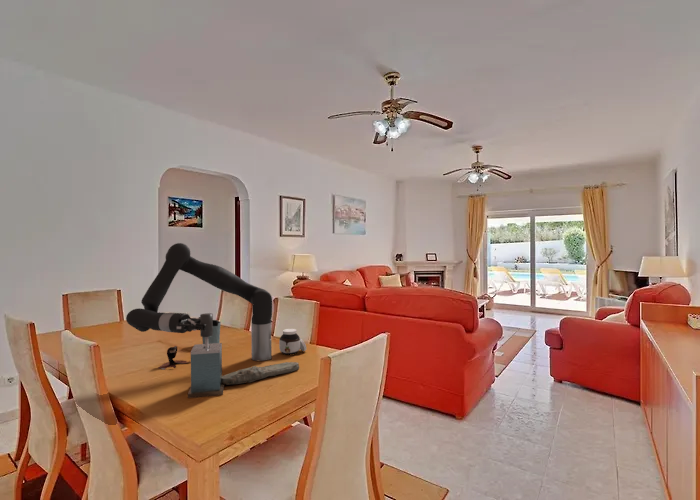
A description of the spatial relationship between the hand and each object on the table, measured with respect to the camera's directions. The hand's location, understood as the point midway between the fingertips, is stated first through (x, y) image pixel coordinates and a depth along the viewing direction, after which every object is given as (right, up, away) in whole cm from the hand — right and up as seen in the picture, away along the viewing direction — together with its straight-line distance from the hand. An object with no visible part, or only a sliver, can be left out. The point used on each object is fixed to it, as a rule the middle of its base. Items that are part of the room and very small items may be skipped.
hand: (211, 325), depth 145 cm
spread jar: (+23, -24, +50) cm, 60 cm away
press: (-2, -25, +1) cm, 25 cm away
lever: (-2, -21, +1) cm, 21 cm away
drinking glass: (-23, -23, +64) cm, 72 cm away
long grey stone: (+15, -25, +16) cm, 33 cm away
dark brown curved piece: (-27, -24, +31) cm, 48 cm away
